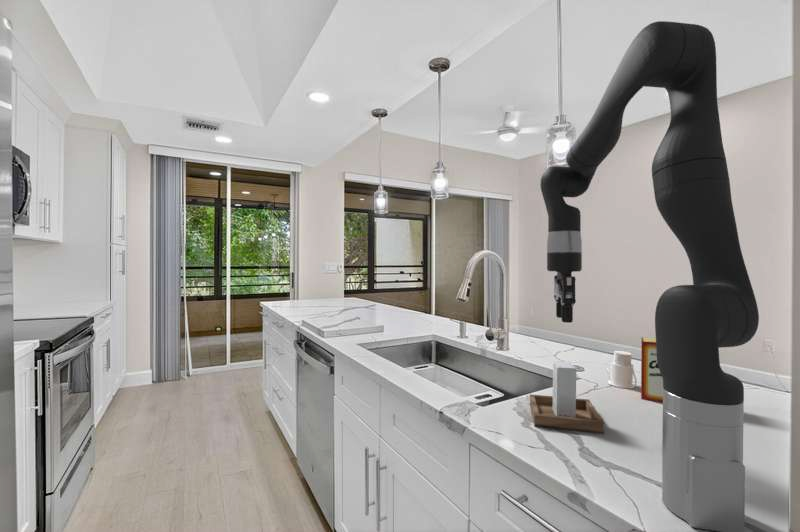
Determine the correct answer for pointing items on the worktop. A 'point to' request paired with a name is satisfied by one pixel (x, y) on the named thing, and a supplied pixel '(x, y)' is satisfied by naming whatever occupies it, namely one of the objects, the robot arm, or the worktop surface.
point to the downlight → (621, 370)
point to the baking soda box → (650, 371)
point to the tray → (583, 422)
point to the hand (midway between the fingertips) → (563, 319)
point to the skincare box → (564, 389)
